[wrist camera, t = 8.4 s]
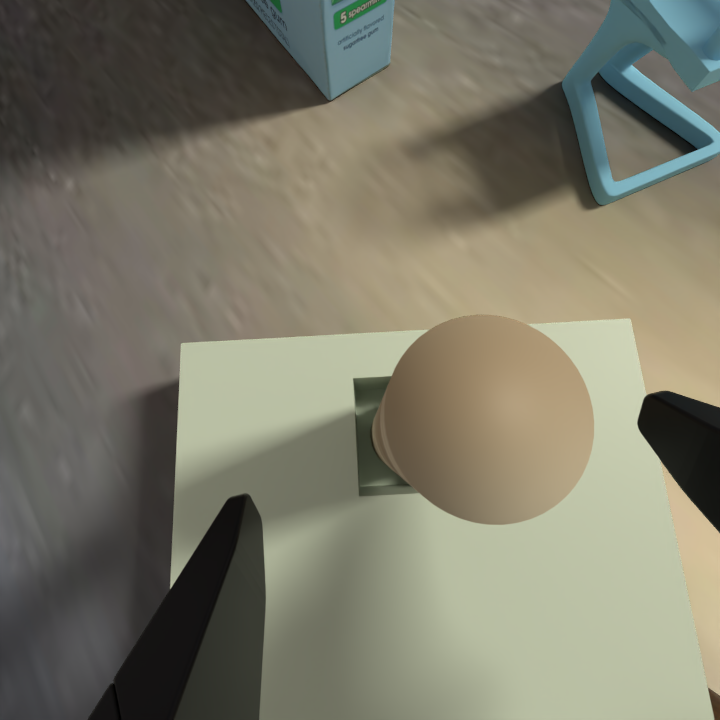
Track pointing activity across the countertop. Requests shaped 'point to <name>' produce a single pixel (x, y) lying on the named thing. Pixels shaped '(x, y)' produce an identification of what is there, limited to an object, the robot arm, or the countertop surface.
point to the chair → (646, 83)
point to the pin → (486, 420)
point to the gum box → (332, 38)
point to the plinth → (437, 547)
